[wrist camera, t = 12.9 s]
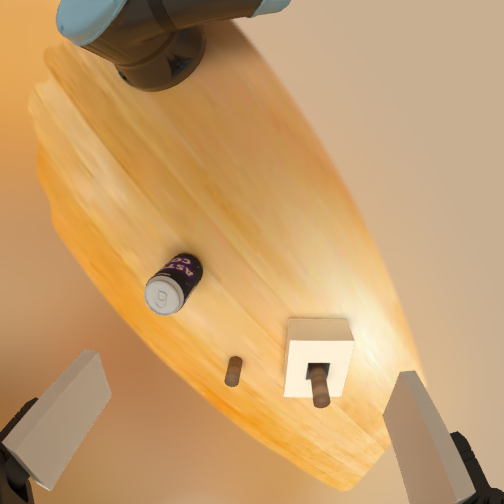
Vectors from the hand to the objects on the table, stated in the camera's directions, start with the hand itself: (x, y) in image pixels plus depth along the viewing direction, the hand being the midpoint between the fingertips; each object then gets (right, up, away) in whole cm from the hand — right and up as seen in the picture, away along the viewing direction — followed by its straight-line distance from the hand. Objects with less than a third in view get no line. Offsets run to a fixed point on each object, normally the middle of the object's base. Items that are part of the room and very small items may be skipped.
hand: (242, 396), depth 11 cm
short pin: (-3, -14, +41) cm, 43 cm away
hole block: (+11, -11, +38) cm, 42 cm away
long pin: (+11, -11, +38) cm, 42 cm away
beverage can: (-10, +3, +36) cm, 38 cm away
